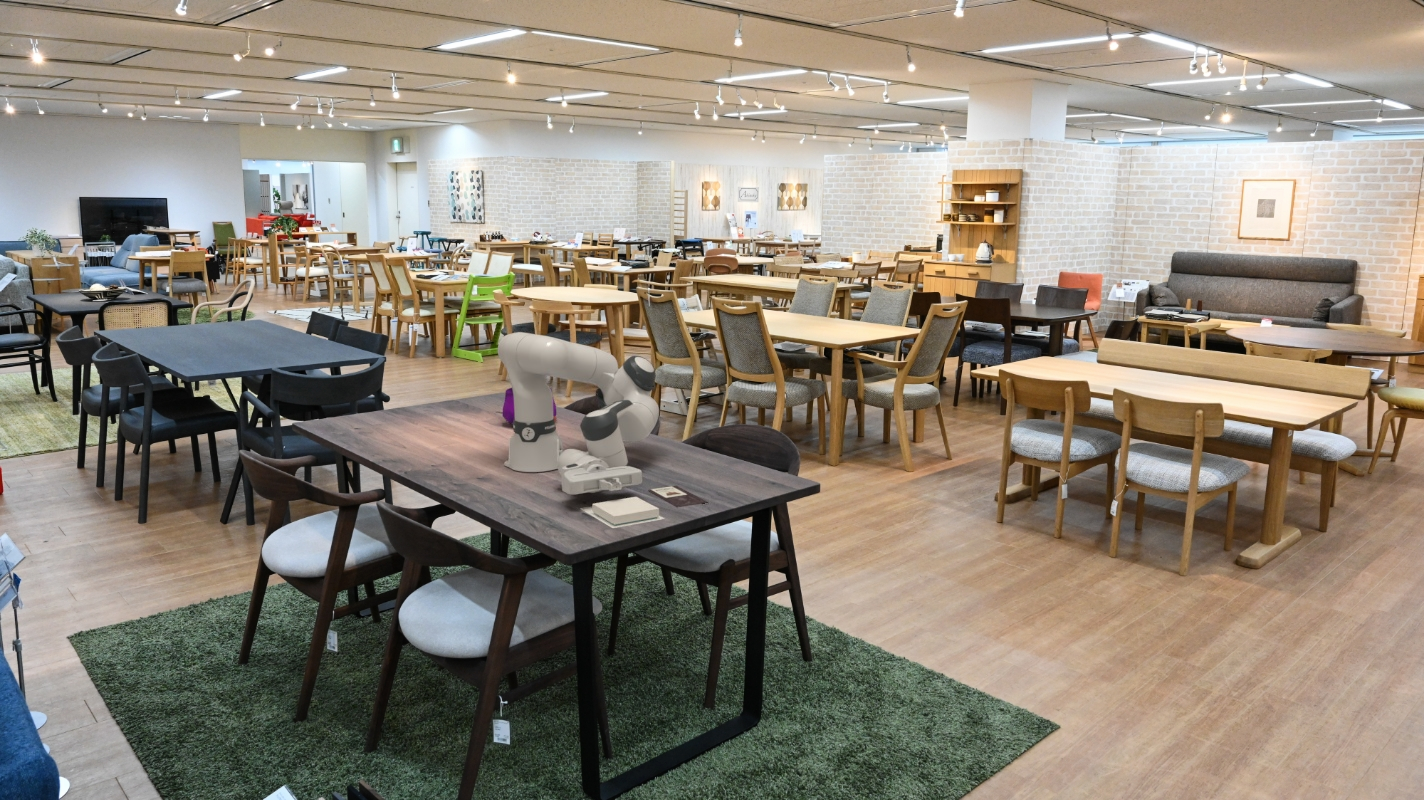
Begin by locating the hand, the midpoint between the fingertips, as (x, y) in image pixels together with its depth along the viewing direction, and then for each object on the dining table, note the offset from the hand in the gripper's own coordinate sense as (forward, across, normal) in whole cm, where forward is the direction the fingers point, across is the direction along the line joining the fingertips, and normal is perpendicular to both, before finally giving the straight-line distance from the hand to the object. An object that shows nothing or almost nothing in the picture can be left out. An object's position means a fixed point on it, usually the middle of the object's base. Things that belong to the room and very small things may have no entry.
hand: (616, 487), depth 241 cm
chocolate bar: (-3, -19, -7) cm, 21 cm away
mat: (+3, 0, -6) cm, 7 cm away
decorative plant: (-110, -21, -7) cm, 112 cm away
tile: (-1, 0, -5) cm, 5 cm away
